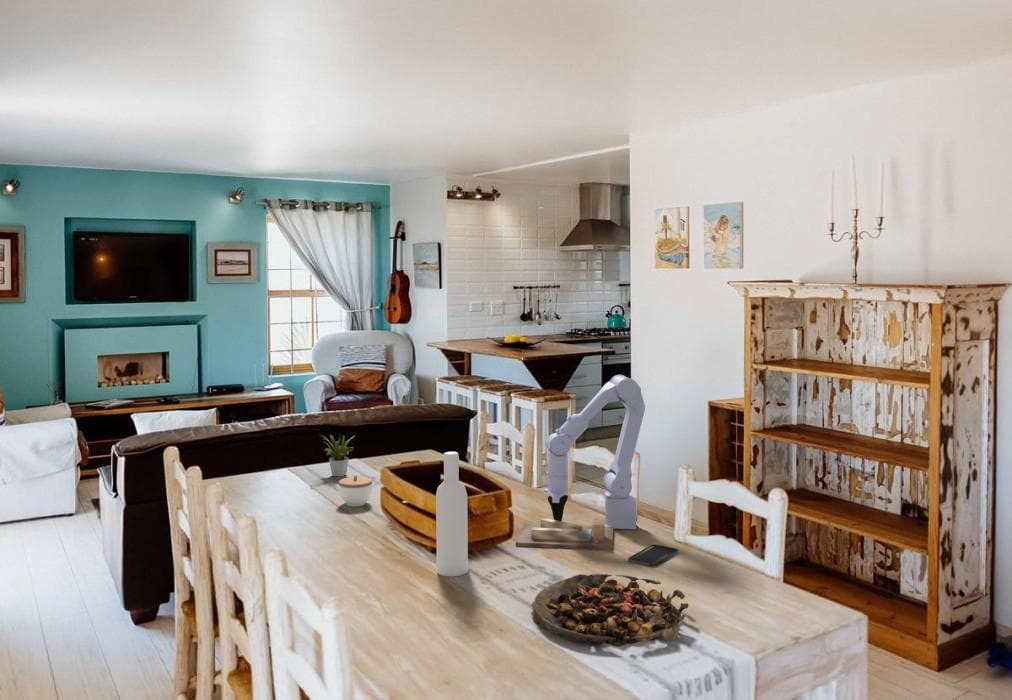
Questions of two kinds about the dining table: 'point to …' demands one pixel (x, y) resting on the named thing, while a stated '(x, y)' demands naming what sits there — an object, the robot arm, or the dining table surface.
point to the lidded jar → (355, 490)
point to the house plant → (338, 456)
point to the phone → (653, 555)
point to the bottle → (451, 521)
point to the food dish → (607, 611)
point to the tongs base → (564, 543)
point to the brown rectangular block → (598, 529)
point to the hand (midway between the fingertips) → (557, 520)
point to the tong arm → (558, 524)
